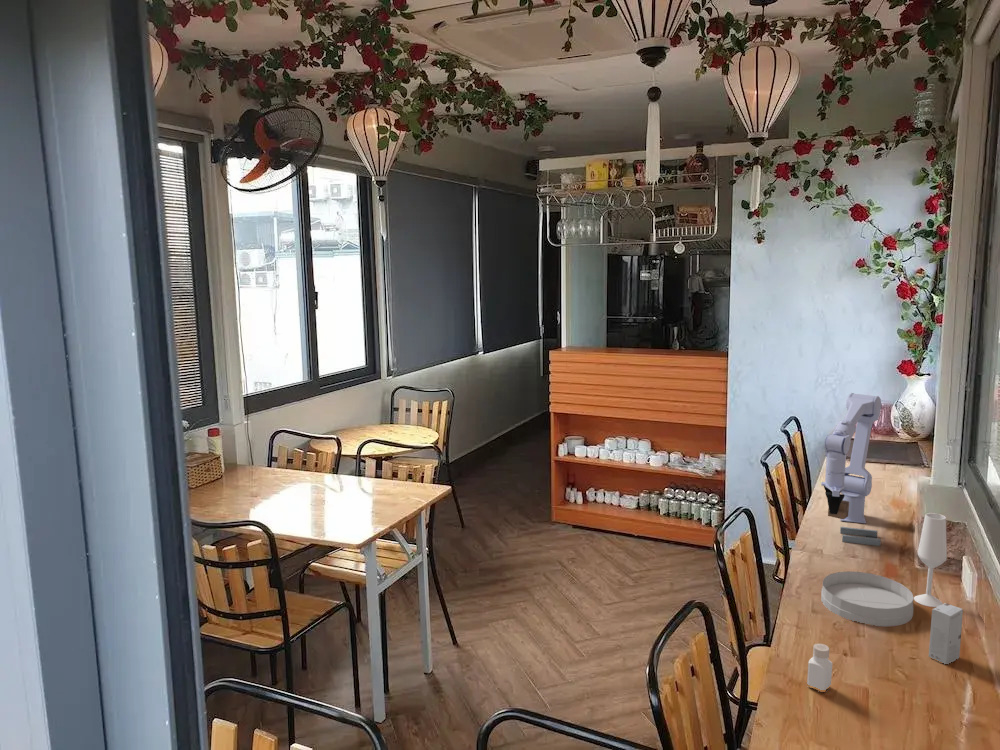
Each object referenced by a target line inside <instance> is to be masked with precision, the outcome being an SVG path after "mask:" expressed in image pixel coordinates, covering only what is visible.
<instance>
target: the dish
mask: <svg viewBox="0 0 1000 750" xmlns="http://www.w3.org/2000/svg"><path fill="white" fill-rule="evenodd" d="M820 590H821V595H820V596H821V597H820V599H821V603H822V602H823V603H822V604H823V606H824V607H825V608H826V609H827V608H828V609H827V610H828V611H830V612H831V611H832V612H831V613H833V614H835V615H836V614H837V616H838V615H839V616H838V617H840V616H841V618H843V617H844V618H843V619H845V618H846V620H848V619H849V620H848V621H850V620H852V621H851V622H854V621H857V622H856V623H858V622H860V623H859V624H861V623H865V624H864V625H866V624H871V625H870V626H873V625H875V626H874V627H896V626H901V625H904V624H907V623H909V622H910V621H912V618H913V616H914V595H913V592H912V591H911V590H910V589H909V588H908V587H906V586H905V585H903V584H902V583H900V582H898V581H896V580H894V579H891V578H888V577H886V576H883V575H877V574H873V573H869V572H861V571H838V572H833V573H830V574H828V575H826V576H825V577H824V578H823V580H822V588H821V589H820Z"/></svg>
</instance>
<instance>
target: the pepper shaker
mask: <svg viewBox="0 0 1000 750" xmlns="http://www.w3.org/2000/svg"><path fill="white" fill-rule="evenodd" d="M829 658H830V647H829V646H828V645H826V644H824V643H815V644H813V647H812V657H811V658H810V659H808V662H807V663H808V665H807V680H806V683H807V684H808V685H810V686H813V687H816V688H818V689H820V690H826V689H827V688H828V687H829V686H830V685H831V686H832V678H833V677H832V674H833V662H832V661H831V660H830V659H829ZM807 684H806V685H807Z"/></svg>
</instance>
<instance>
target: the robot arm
mask: <svg viewBox="0 0 1000 750" xmlns="http://www.w3.org/2000/svg"><path fill="white" fill-rule="evenodd" d="M845 406H846V410H847V412H846V414H845V417H844V419H842V420H840V421H838V423H837V425H836V426H835V428H834V430H833V431H832V433H831V434H829V435H827V436H826V437H825V439H824V444H823V447H824V451H825V453H824V455H825V458H826V462H825V463H826V465H825V476H824V478H825V479H824V481H821V482H820V485H821V486H822V487H823V488H824V490H825V496H826V499H827V506H828V508H829V511H830V514H837V513H838V510H839V506H840V503H841V501H842V500H844V501H849V512H848V517H846V518H845V519H839V520H840V521H841V522H847V523H859V524H866V523H867V521H866V518H865V516H864V515H865V506H866V503H865V502H866V497H868V496H869V495H870V494H871V492H872V487H873V484H872V483H873V482H872V480H873V476H872V474H871V473H870V471H869V470H868V469H866V461H867V457H868V450H869V445H870V439H871V433H872V427H873V425H874V423H875V422H877V421H879V418H880V415H881V410H882V398H881V397H880V396H879V395H869V394H860V393H854V392H851V393H849V395H847V398H846V404H845ZM853 436H854V439H853ZM852 439H853V443H852V442H851V441H852ZM851 443H852V450H851V455H850V459H849V460H850V461H849V464H848V466H846V461H847V454H848V453H849V450H850V446H851Z"/></svg>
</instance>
